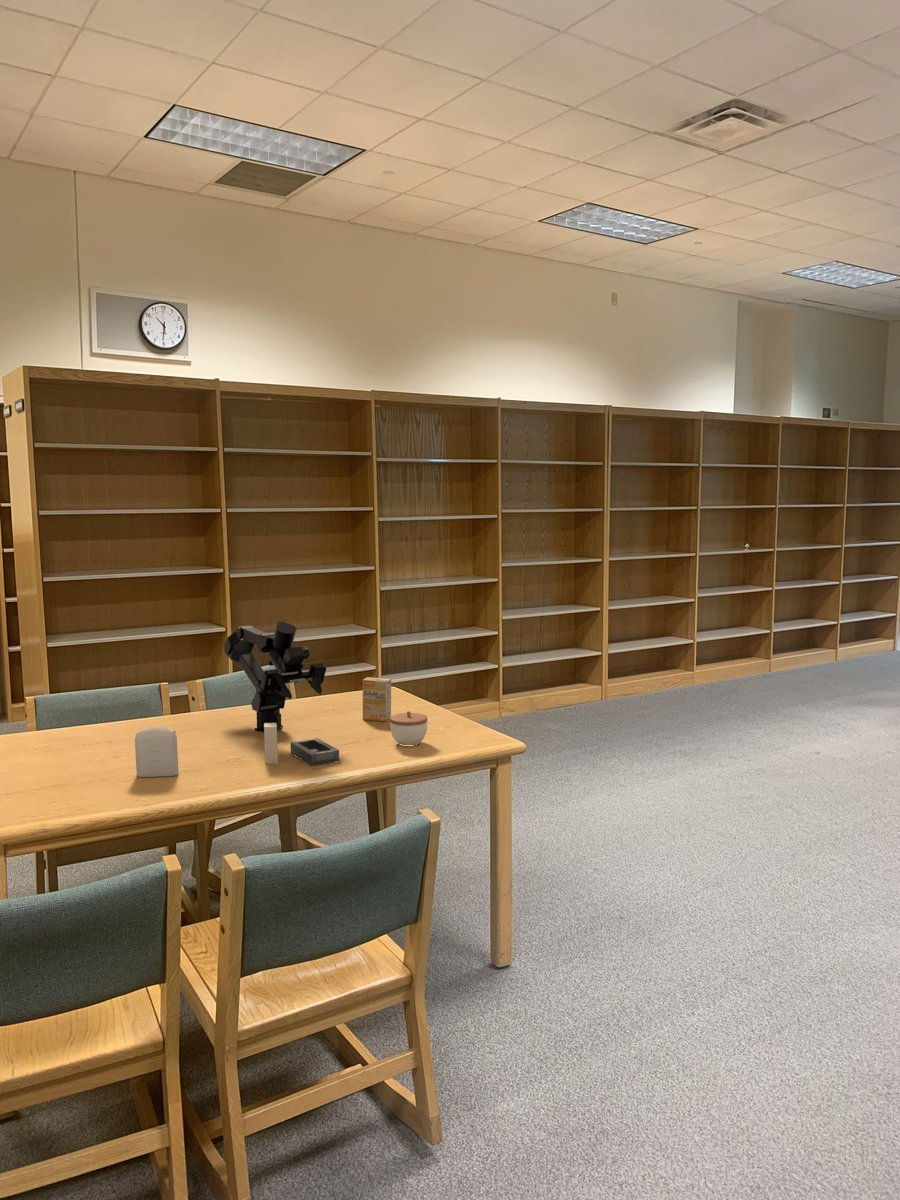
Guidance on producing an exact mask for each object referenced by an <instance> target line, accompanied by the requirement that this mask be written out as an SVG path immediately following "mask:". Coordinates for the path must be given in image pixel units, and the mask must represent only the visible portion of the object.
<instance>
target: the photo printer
mask: <svg viewBox="0 0 900 1200" xmlns="http://www.w3.org/2000/svg"><path fill="white" fill-rule="evenodd" d="M134 747H135V748H134V749H135V750H134V751H135V766H136V767H135V768H136V771H135V772H136V776H138V777H137V778H153V777H158V778H159V777H173V776H174V777H175V775H176V776H178V775H179V756H178V755H179V753H178V738H177V734H176V730H175V729H173V728H169V727H162V726H154V727H146V728H142V729H140V730H137V731H136V733H135V736H134Z"/></svg>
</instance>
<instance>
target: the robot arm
mask: <svg viewBox="0 0 900 1200" xmlns="http://www.w3.org/2000/svg"><path fill="white" fill-rule="evenodd" d="M296 631H297V628H296V626H295V625H292V624H291V623H287V622H286V621H285V620H283V621H282V620H281V621H280V620H279V621H277V624H276V626H275V632H266V631H263V630H260V629H258V628H256V627H255V626H253V625H242V626H239V627H237V628H236V630H235V631H234V632H233V633H231V634H230V635H229V636H227V638H226V640H225V642H224V644H223V650H224V653H225V655H226V656H227V657H228V658H229V659H230V660H231V661H233V662H235V663H238V664H239V666H240V667H241V668H242V670H243V671H244V673H245V675H246V677H248V680H250V682H251V684H252V685H253V687H254V688H255V694H254V695H253V699H252V700H251V703H250V704H251V710H253V711H254V712H256V727H255V728H253V731H258V732H264V723H276V724H277V731H278V730H279V729H281V728H283V726H284V725H283V724H282V713H281V711H280V710H281V709H282V710H283V709H285V705H286V699H292V698H293V695H292V693H291V691H290V689H289V687H287V685H286V684H291V683H292V684H293V683H299V682H301V681H307V682H308V684H309V685H310V686H309V687H310V688H312V689H313V690H314V691H315V692H316V693H317V694H318V695H321V694H322V693H323V690H322V685H321V684H323V683H324V679H325V675H326V672H327V667H326V665H325V664H324V663H322V662H321V663H315V664H310V666H309V669H308V671H302V669H303V668H304V663H303V662H304V660H306V659H307V660H308V659H309V656H310V655H311V651H310V650H309V648H308V646H294V645H293V644H294V641H295V637H296ZM255 646H256V650H257V651H258V652H260V653H261V654H268V658H269V659H268V667H272V666H274V669H266V670H264V669H263V667H262V666H261V664H260V663H259V661H258V660H257V659H256V657H255V656H254V654H253V651H254V649H255ZM293 646H294V647H293Z"/></svg>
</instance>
